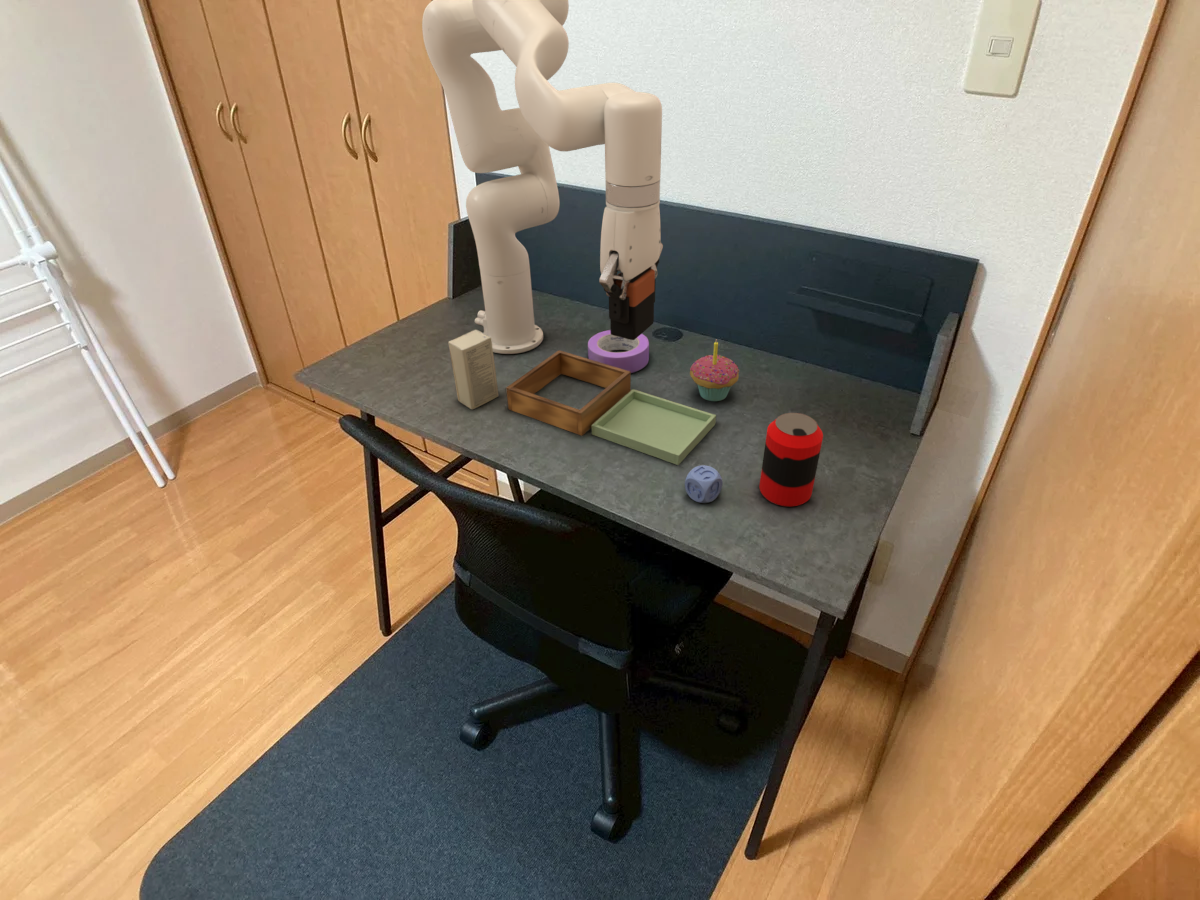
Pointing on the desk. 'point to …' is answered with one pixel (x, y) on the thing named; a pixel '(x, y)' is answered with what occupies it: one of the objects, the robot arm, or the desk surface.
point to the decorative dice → (703, 484)
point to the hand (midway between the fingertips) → (632, 310)
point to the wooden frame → (560, 414)
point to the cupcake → (714, 375)
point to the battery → (637, 306)
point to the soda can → (790, 459)
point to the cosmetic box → (474, 368)
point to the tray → (654, 426)
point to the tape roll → (628, 360)
